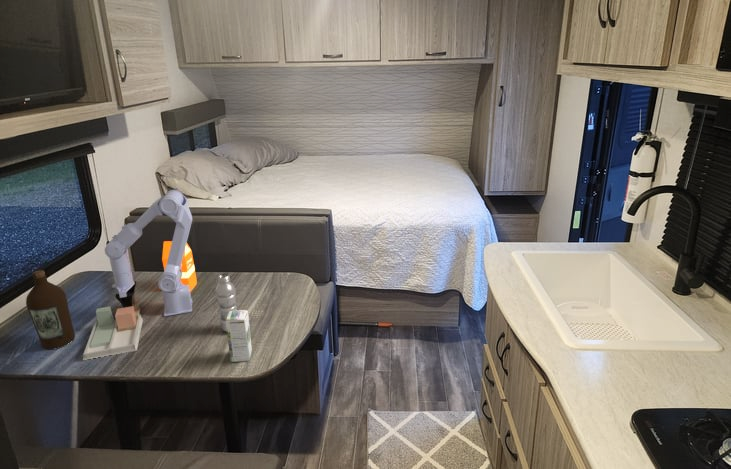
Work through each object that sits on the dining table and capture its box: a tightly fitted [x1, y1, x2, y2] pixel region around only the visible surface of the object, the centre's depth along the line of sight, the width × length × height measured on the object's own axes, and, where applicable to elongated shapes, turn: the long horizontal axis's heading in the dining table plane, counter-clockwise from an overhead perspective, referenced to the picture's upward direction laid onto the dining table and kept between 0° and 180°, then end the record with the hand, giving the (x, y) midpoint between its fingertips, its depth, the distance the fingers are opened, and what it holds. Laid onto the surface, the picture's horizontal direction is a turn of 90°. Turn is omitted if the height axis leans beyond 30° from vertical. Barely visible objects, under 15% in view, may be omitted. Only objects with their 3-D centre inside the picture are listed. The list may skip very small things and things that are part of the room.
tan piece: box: [117, 294, 141, 332], centre depth 164 cm, size 14×6×6 cm, turn 19°
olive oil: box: [25, 269, 76, 350], centre depth 150 cm, size 11×11×25 cm
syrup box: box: [225, 309, 253, 363], centre depth 142 cm, size 6×6×14 cm
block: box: [114, 306, 136, 329], centre depth 160 cm, size 5×5×5 cm
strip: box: [90, 306, 116, 348], centre depth 155 cm, size 14×6×6 cm, turn 19°
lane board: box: [82, 313, 144, 361], centre depth 155 cm, size 20×15×2 cm
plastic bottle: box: [214, 272, 238, 333], centre depth 156 cm, size 6×7×20 cm
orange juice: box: [161, 240, 198, 293], centre depth 186 cm, size 8×9×20 cm
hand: (130, 306), depth 169 cm, fingers open, 6 cm apart
